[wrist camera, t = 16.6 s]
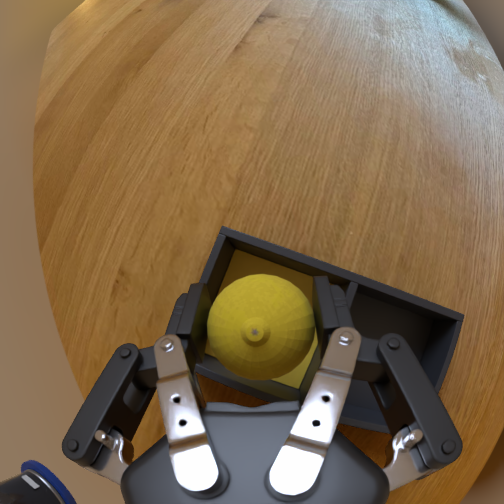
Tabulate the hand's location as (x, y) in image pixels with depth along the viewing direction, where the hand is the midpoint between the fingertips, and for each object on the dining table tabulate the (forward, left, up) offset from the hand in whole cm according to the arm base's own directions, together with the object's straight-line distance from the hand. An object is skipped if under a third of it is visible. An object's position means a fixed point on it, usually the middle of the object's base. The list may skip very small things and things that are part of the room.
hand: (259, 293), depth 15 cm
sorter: (-2, -5, -8) cm, 10 cm away
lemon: (-2, -1, -4) cm, 5 cm away
